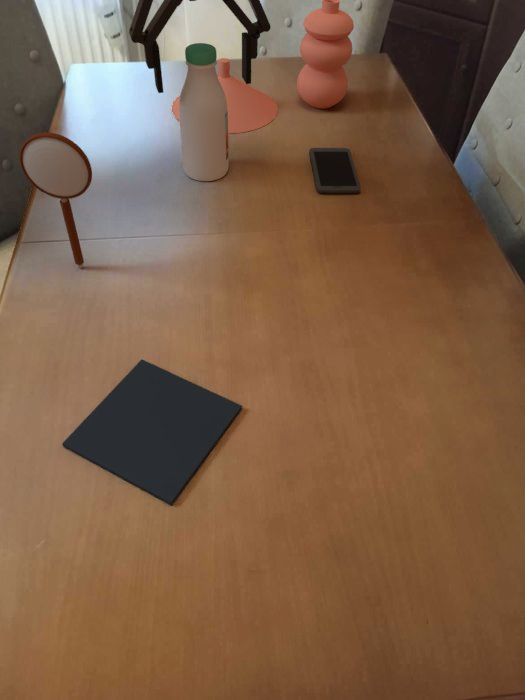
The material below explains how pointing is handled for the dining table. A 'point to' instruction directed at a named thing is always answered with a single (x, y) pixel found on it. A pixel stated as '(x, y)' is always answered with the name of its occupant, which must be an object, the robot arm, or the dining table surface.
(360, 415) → the dining table surface
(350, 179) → the cell phone
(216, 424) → the mat
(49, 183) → the magnifying glass
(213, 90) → the milk bottle
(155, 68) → the robot arm
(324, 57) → the ceramic vessels
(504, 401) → the dining table surface
